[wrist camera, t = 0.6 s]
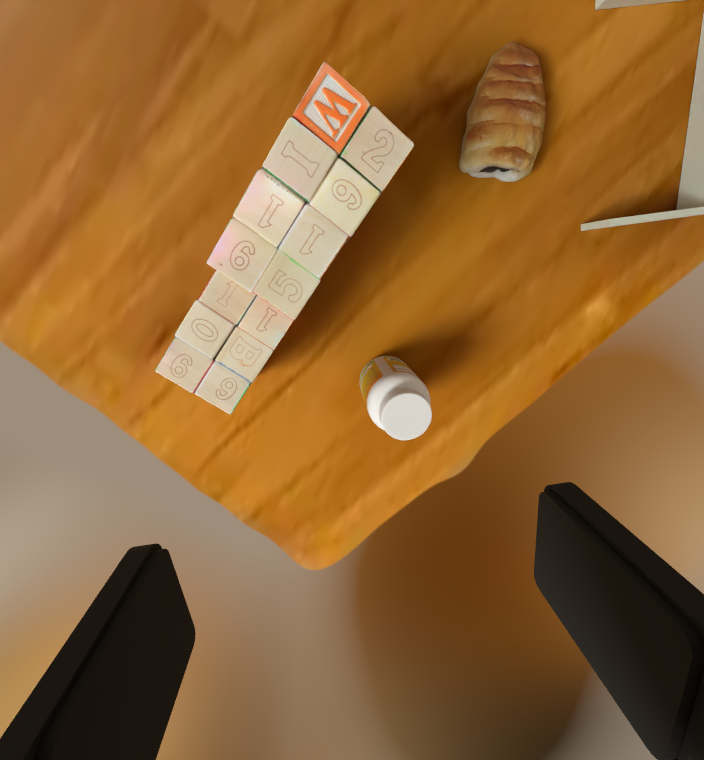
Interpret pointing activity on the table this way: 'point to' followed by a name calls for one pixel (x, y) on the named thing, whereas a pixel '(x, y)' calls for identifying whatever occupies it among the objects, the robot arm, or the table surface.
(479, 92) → the pastry
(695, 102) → the frame
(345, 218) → the stack of blocks
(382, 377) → the supplement bottle
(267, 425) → the table surface
